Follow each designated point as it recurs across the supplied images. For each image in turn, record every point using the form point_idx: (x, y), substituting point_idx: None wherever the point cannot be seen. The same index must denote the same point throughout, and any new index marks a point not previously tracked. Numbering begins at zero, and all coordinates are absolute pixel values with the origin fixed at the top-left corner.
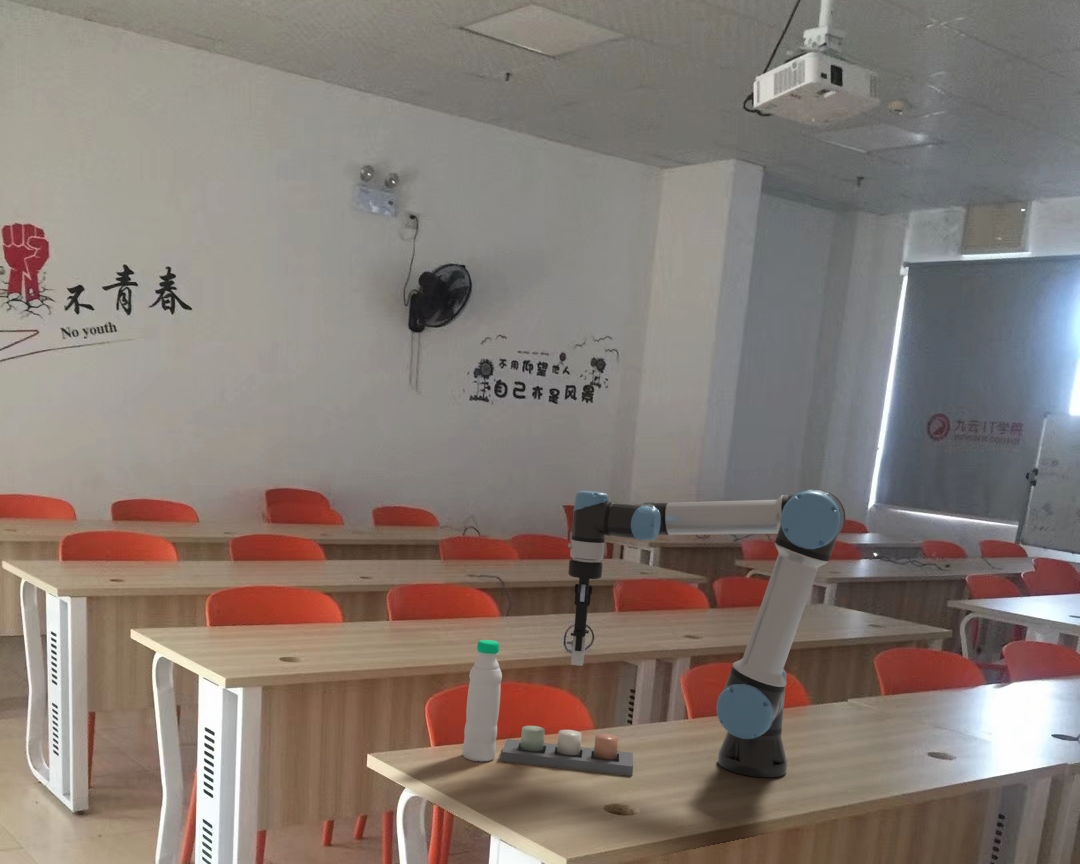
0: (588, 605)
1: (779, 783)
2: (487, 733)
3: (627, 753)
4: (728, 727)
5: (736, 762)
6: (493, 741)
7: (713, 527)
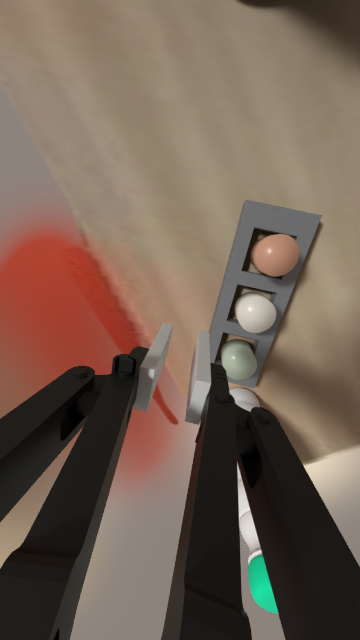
0: (248, 626)
1: None
2: None
3: (251, 210)
4: None
5: None
6: (255, 406)
7: None
